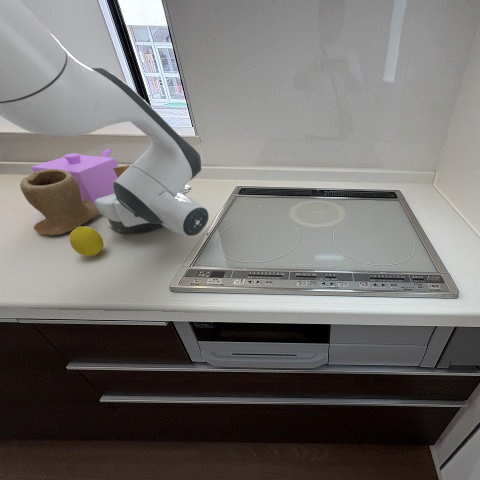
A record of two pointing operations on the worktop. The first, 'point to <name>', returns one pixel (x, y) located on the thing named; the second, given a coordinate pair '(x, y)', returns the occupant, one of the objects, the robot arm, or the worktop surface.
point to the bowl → (134, 227)
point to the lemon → (86, 241)
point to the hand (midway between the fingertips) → (129, 187)
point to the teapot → (87, 173)
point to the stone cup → (57, 201)
